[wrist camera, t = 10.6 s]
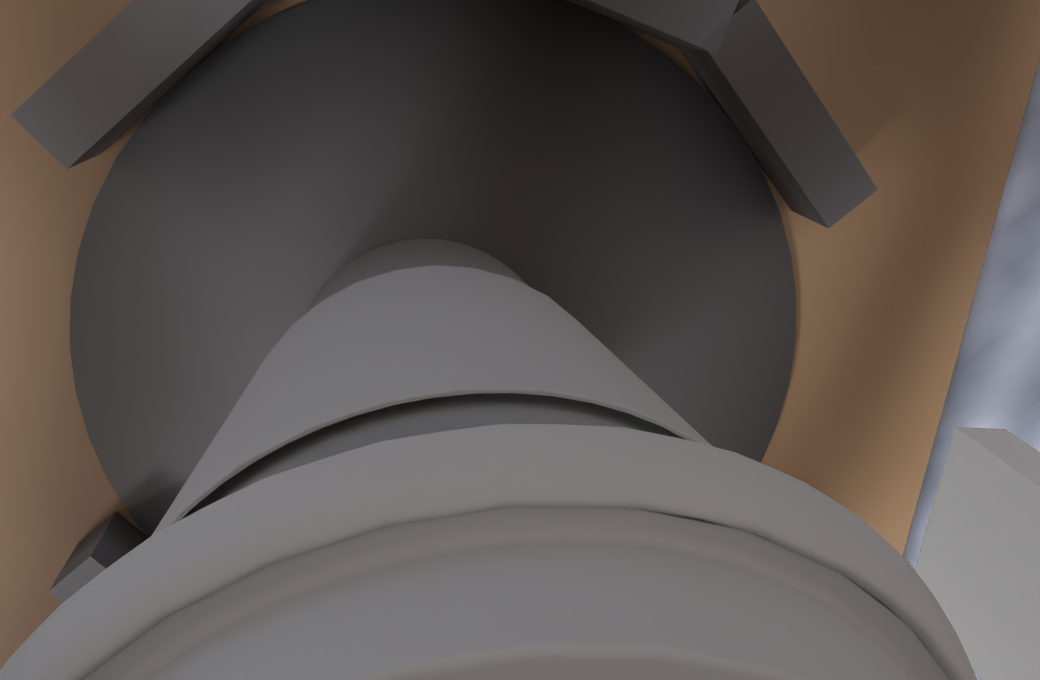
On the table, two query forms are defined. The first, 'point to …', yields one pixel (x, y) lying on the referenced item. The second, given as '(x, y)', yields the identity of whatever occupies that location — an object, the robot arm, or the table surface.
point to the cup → (484, 519)
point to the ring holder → (488, 220)
